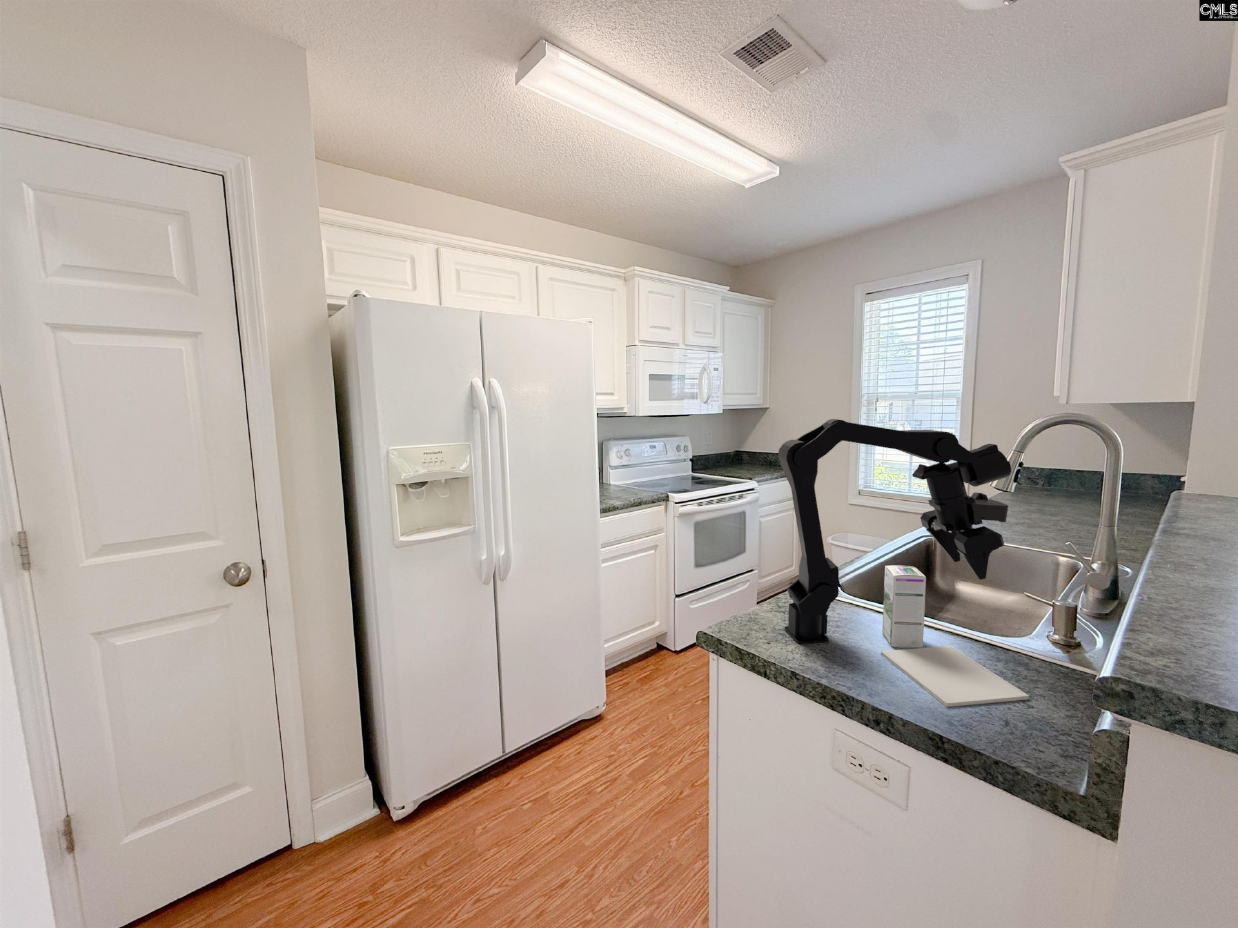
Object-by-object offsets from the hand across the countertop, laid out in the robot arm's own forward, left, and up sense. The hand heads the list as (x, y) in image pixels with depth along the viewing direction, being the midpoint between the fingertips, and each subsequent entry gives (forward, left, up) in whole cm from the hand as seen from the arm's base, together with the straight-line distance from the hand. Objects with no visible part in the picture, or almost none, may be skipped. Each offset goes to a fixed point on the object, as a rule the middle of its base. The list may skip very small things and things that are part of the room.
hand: (969, 569), depth 96 cm
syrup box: (-13, +1, -14) cm, 19 cm away
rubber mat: (-13, -11, -14) cm, 22 cm away
